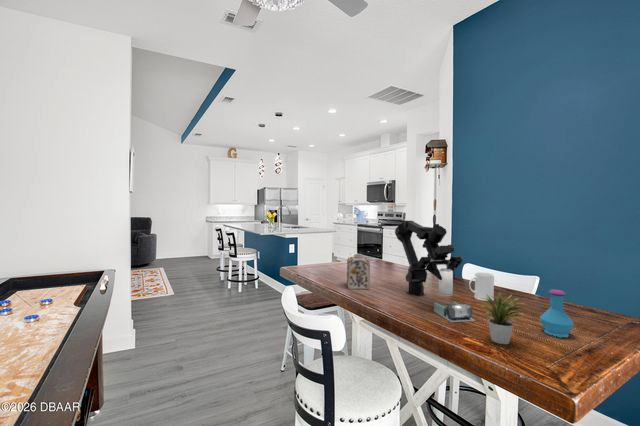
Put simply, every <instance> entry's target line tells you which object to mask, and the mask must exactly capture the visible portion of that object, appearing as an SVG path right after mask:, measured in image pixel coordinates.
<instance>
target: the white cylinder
mask: <svg viewBox="0 0 640 426" xmlns="http://www.w3.org/2000/svg"><path fill="white" fill-rule="evenodd" d="M438 270H439V272H440V274H441V277H442V280H439V279H438V290H437V291H438V295H440V296H444V297H452V296H453V294H454V291H453V290H454V288H453V285H454V284H453V283H454V281H453V271H452V270H451V269H446V268H440V269H438Z"/></svg>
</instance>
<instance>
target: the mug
mask: <svg viewBox="0 0 640 426" xmlns="http://www.w3.org/2000/svg"><path fill="white" fill-rule="evenodd" d="M473 280H474V290H473V289H472V287H471V283H472V281H473ZM494 283H495V275H494V274H493V273H489V272H480V271H479V272H478V271H477V272H474V276H473V277H471V279H470V280H469V283H468V288H469V290H470V291H471V292H472V293H474V296H473V298H474V299H475V300H478V301H482V302H486V301H487V302H489V301H488V300H487V298H488V297H487V295H488V296H489V295H490V296H489V297H490V298H491V299H492V300H493V302H494V301H495V300H494V299H495V297H494V294H495V293H494V291H495V288H494V287H495V286H494V285H495V284H494ZM486 297H487V298H486ZM493 297H494V298H493ZM483 298H485V299H483ZM488 299H489V298H488Z"/></svg>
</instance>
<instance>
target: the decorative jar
mask: <svg viewBox="0 0 640 426" xmlns="http://www.w3.org/2000/svg"><path fill="white" fill-rule="evenodd" d="M346 260H347V261H346V285H347V288H348V290H370V288H371V262H370V259H369V258H368V257H366V256H363V253H354V254H353V256H350V257H347V259H346Z"/></svg>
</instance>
